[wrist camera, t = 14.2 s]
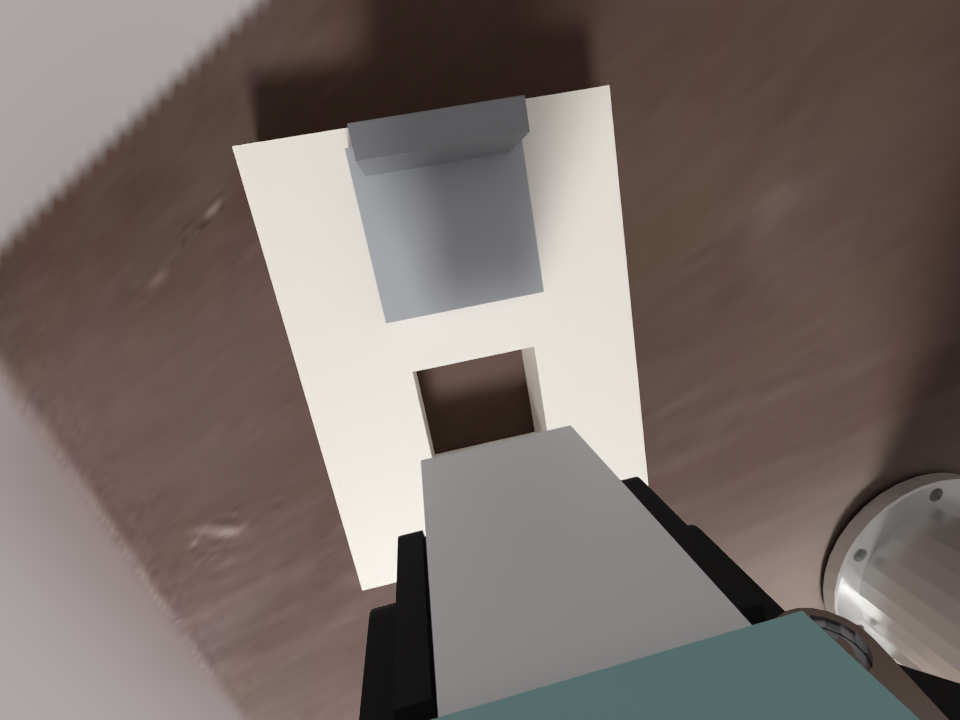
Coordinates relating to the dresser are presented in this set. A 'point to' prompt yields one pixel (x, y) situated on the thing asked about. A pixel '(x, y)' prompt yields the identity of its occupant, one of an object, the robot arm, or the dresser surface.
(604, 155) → the socket
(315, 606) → the dresser surface
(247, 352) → the dresser surface
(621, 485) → the plug
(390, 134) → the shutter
